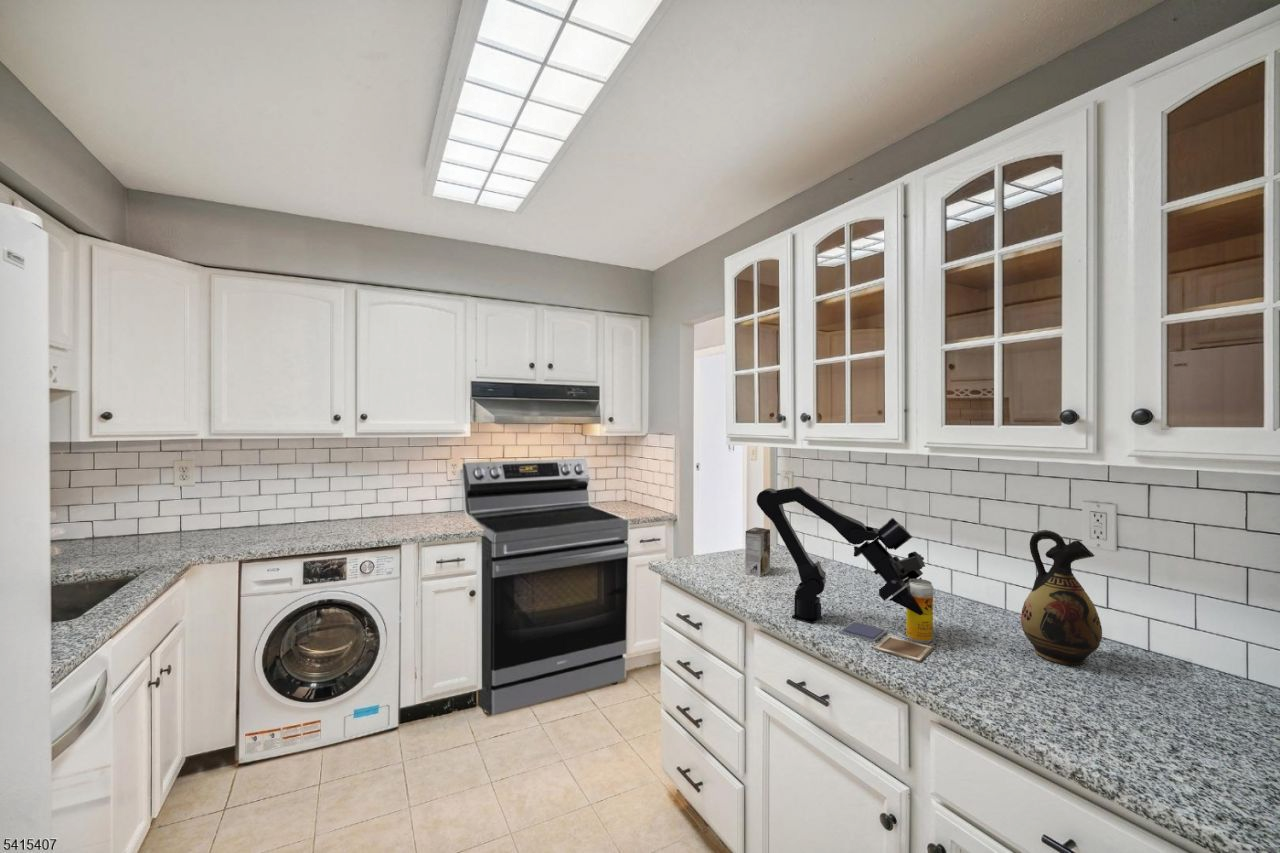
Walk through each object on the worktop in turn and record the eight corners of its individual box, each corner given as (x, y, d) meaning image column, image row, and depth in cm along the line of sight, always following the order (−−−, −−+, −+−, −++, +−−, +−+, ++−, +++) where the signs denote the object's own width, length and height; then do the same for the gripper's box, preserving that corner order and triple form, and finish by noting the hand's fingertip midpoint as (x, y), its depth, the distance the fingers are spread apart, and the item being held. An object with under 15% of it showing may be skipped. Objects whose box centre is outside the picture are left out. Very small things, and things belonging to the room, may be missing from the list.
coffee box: (754, 569, 208) (755, 526, 208) (770, 571, 205) (771, 529, 205) (744, 574, 201) (744, 530, 201) (760, 577, 197) (761, 532, 197)
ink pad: (839, 633, 145) (840, 629, 145) (853, 624, 151) (853, 620, 151) (874, 642, 138) (874, 638, 138) (887, 633, 145) (887, 629, 145)
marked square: (872, 649, 134) (872, 647, 134) (887, 636, 142) (887, 634, 142) (920, 662, 127) (920, 660, 127) (933, 648, 135) (934, 646, 135)
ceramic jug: (1104, 657, 131) (1106, 533, 131) (1097, 678, 120) (1099, 542, 120) (1019, 637, 143) (1021, 523, 143) (1006, 654, 132) (1008, 531, 132)
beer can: (921, 645, 137) (921, 586, 137) (900, 636, 143) (901, 579, 142) (938, 641, 139) (938, 583, 139) (917, 633, 145) (918, 577, 145)
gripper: (892, 548, 137) (940, 602, 129) (915, 537, 150) (960, 585, 143) (860, 573, 142) (904, 627, 135) (885, 561, 156) (926, 608, 148)
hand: (925, 611), depth 140 cm, fingers closed on beer can, 6 cm apart
